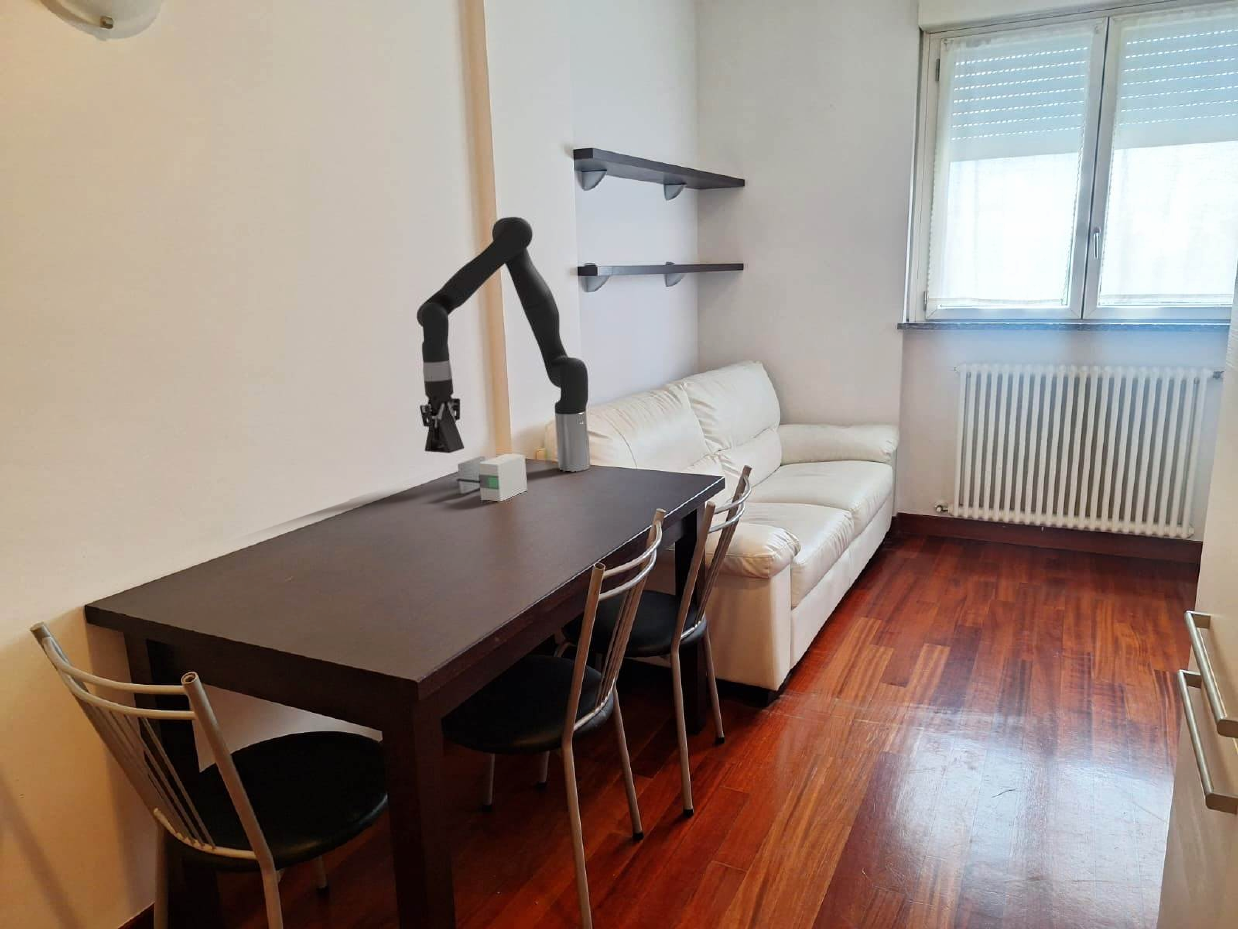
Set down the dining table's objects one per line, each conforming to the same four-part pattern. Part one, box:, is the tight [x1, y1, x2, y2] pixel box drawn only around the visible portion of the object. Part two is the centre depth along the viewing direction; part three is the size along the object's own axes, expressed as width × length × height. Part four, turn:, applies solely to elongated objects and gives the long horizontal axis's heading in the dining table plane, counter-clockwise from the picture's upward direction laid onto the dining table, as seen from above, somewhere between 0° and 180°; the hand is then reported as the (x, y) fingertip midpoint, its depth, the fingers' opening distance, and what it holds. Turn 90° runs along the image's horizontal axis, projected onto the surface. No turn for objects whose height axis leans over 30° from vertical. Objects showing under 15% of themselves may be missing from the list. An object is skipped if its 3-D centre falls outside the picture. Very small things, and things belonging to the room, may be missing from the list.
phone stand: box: [424, 408, 465, 454], centre depth 230 cm, size 9×6×12 cm, turn 62°
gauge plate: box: [452, 455, 486, 494], centre depth 226 cm, size 12×8×8 cm
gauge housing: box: [478, 453, 528, 502], centre depth 223 cm, size 12×6×10 cm, turn 151°
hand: (443, 438), depth 231 cm, fingers closed on phone stand, 6 cm apart
